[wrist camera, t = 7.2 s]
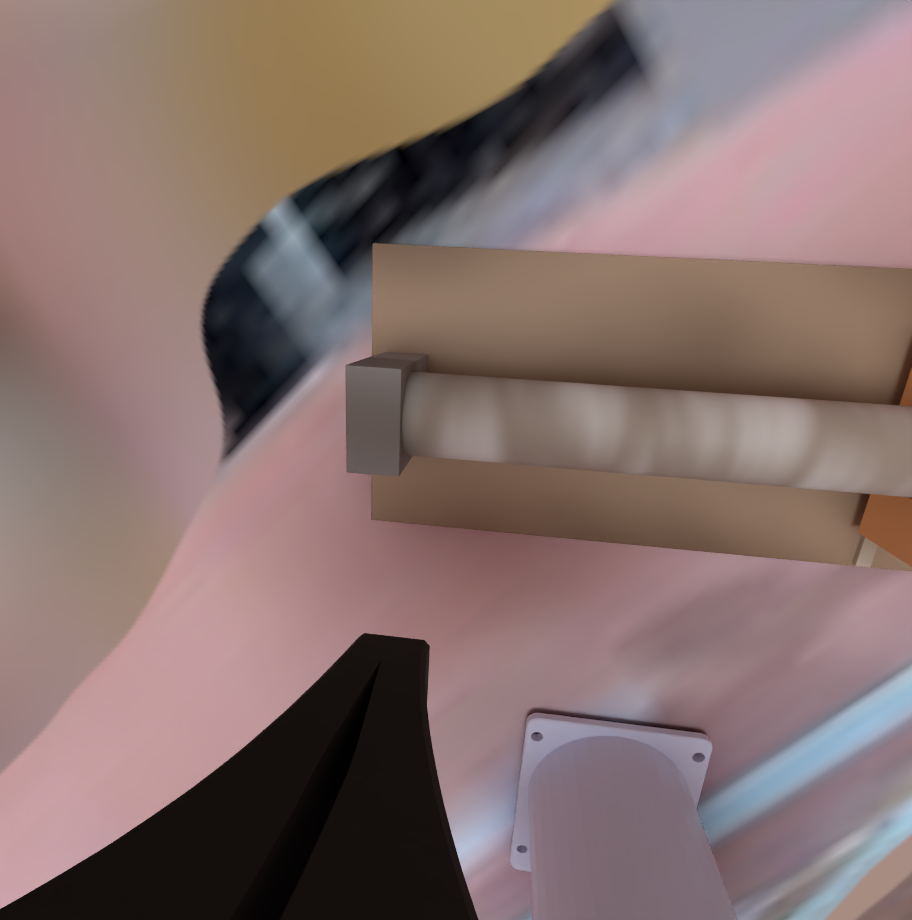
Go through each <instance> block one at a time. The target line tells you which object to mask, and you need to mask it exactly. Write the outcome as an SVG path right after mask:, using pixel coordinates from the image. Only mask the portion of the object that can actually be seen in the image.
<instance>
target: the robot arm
mask: <svg viewBox="0 0 912 920" xmlns="http://www.w3.org/2000/svg"><path fill="white" fill-rule="evenodd" d="M429 650H430V646H429V645H428V644H427V642H426V641H425V640H419V639H410V638H402V637H393V636H384V635H376V634H367V633H364V634H363V635H361V636H360V637H359V638H358V639H357V640H356V641H355V642H354V643H353V644H352V645H351V646H350V647H349V648H348V649H347V650H346V651H345V653H344V654H343V655H342V656H341V657H340V658H339V659H338V660H337V661H336V662H335V663H334V664H333V665H332V666H331V667H330V668H329V669H328V670H327V671H326V672H325V673H324V674H323V675H322V676H321V677H320V678H319V679H318V680H317V681H316V682H315V683H314V684H313V685H312V686H311V687H310V688H309V689H308V690H307V691H306V692H305V693H304V694H303V695H302V696H301V697H300V698H299V699H298V700H297V701H296V702H295V703H293V704H292V705H291V706H290V707H289V708H288V709H287V710H286V711H285V712H284V713H283V714H282V715H280V716H279V717H278V718H277V719H276V720H275V721H274V722H272V723H271V724H270V725H269V726H268V727H267V728H266V729H264V730H263V731H262V732H261V733H260V734H259V735H258V736H256V737H255V738H254V739H253V740H252V741H251V742H250V743H248V744H247V745H246V746H245V747H244V748H242V749H241V750H240V751H239V752H238V753H236V754H235V755H234V756H233V757H231V758H230V759H229V760H228V761H226V762H225V763H224V764H223V765H221V766H220V767H219V768H218V769H216V770H215V771H214V772H212V773H211V774H210V775H208V776H207V777H206V778H204V779H203V780H202V781H200V782H199V783H198V784H196V785H195V786H194V787H193V788H191V789H190V790H188V791H187V792H186V793H184V794H183V795H182V796H180V797H179V798H177V799H176V800H174V801H173V802H171V803H170V804H169V805H167V806H166V807H164V808H163V809H161V810H160V811H159V812H157V813H156V814H154V815H153V816H151V817H150V818H148V819H147V820H145V821H144V822H142V823H141V824H139V825H138V826H136V827H135V828H133V829H132V830H130V831H129V832H128V833H126V834H125V835H123V836H122V837H120V838H119V839H117V840H116V841H114V842H113V843H111V844H109V845H108V846H106V847H105V848H103V849H101V850H100V851H98V852H97V853H95V854H93V855H92V856H90V857H88V858H87V859H85V860H83V861H82V862H80V863H78V864H77V865H75V866H73V867H72V868H70V869H68V870H67V871H65V872H64V873H62V874H60V875H59V876H57V877H55V878H54V879H52V880H50V881H48V882H47V883H45V884H43V885H41V886H40V887H38V888H36V889H35V890H33V891H31V892H29V893H28V894H26V895H24V896H23V897H21V898H19V899H17V900H16V901H14V902H12V903H10V904H8V905H7V906H5V907H3V908H1V909H0V920H478V917H477V914H476V911H475V908H474V905H473V902H472V899H471V896H470V893H469V890H468V887H467V884H466V881H465V878H464V875H463V872H462V869H461V865H460V862H459V858H458V855H457V851H456V848H455V844H454V841H453V837H452V834H451V830H450V826H449V822H448V818H447V814H446V811H445V807H444V803H443V798H442V794H441V789H440V785H439V780H438V776H437V770H436V765H435V760H434V754H433V749H432V743H431V736H430V729H429V720H428V712H427V692H428V671H429ZM534 732H539V733H540V734H534ZM712 747H713V746H712V744H711V741H710V739H709V738H708V736H706V735H705V734H702V733H696V732H688V731H680V730H672V729H664V728H656V727H648V726H640V725H632V724H624V723H616V722H608V721H600V720H592V719H585V718H577V717H569V716H561V715H553V714H545V713H533V714H530V715H529V716H528V718H527V720H526V728H525V736H524V745H523V753H522V761H521V769H520V777H519V785H518V793H517V802H516V810H515V818H514V826H513V834H512V842H511V850H510V864H511V866H512V867H513V868H515V869H517V870H522V871H528V872H531V897H532V920H737V917H736V914H735V912H734V909H733V906H732V904H731V901H730V898H729V896H728V893H727V890H726V888H725V885H724V882H723V880H722V877H721V874H720V872H719V869H718V866H717V863H716V861H715V858H714V855H713V853H712V850H711V847H710V845H709V842H708V839H707V837H706V834H705V831H704V829H703V826H702V823H701V821H700V818H699V815H698V813H697V810H696V809H697V805H698V801H699V798H700V794H701V790H702V786H703V783H704V779H705V775H706V772H707V768H708V764H709V760H710V757H711V753H712ZM696 753H699V754H696ZM694 754H696V755H694Z"/></svg>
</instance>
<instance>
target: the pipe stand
mask: <svg viewBox="0 0 912 920" xmlns="http://www.w3.org/2000/svg"><path fill="white" fill-rule="evenodd" d="M911 368H912V269H899V268H878V267H857V266H837V265H816V264H795V263H774V262H753V261H732V260H711V259H690V258H670V257H649V256H628V255H607V254H586V253H565V252H544V251H523V250H503V249H482V248H461V247H440V246H419V245H398V244H377V243H373V306H372V357H369V358H366V359H363V360H360V361H357V362H354V363H351V364H348V365H346V449H347V472H349V473H361V474H372V512H371V520H380V521H391V522H401V523H412V524H422V525H433V526H443V527H454V528H464V529H474V530H485V531H495V532H506V533H516V534H527V535H537V536H548V537H558V538H568V539H579V540H589V541H600V542H610V543H621V544H631V545H642V546H652V547H662V548H673V549H683V550H694V551H704V552H715V553H725V554H736V555H746V556H756V557H767V558H777V559H788V560H798V561H809V562H819V563H829V564H840V565H850V566H861V567H871V568H882V569H892V570H903V571H912V567H911V566H909V565H908V564H906V563H905V562H903V561H902V560H900V559H898V558H897V557H895V556H894V555H892V554H891V553H889V552H888V551H886V550H884V549H883V548H881V547H880V546H878V545H877V544H875V543H873V542H872V541H870V540H869V539H867V538H866V537H864V536H862V535H861V534H859V533H858V530H859V527H860V524H861V521H862V518H863V515H864V512H865V509H866V506H867V503H868V500H869V497H870V494H876V495H887V496H899V497H911V498H912V406H900V402H901V399H902V396H903V393H904V389H905V386H906V383H907V380H908V377H909V374H910V371H911Z"/></svg>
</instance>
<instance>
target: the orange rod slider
mask: <svg viewBox="0 0 912 920" xmlns="http://www.w3.org/2000/svg"><path fill="white" fill-rule="evenodd" d="M900 406H912V368H911V371H910V374H909V377H908V380H907V383H906V386H905V389H904V393H903V396H902V399H901V402H900ZM858 533H859V534H861V535H862V536H864V537H866V538H867V539H869V540H870V541H872V542H873V543H875V544H877V545H878V546H880V547H881V548H883V549H884V550H886V551H888V552H889V553H891V554H892V555H894V556H895V557H897V558H898V559H900V560H902V561H903V562H905V563H906V564H908V565H909V566H911V567H912V498H911V497H899V496H887V495H876V494H870V497H869V500H868V503H867V506H866V509H865V512H864V515H863V518H862V521H861V524H860V527H859V530H858Z"/></svg>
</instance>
